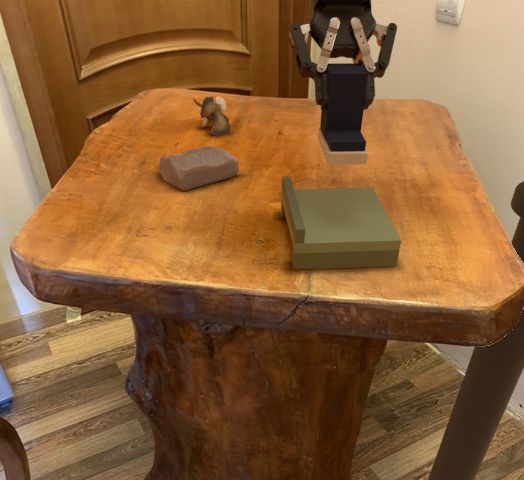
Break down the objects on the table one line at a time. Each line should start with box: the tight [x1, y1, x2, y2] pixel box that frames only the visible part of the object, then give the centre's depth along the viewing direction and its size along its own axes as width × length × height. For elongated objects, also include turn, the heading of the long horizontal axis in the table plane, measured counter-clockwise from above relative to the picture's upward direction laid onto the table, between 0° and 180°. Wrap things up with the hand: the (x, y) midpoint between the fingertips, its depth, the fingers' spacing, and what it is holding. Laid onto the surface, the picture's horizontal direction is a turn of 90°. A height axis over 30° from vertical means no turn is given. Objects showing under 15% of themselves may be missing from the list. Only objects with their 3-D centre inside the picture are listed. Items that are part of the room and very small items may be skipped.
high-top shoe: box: [317, 62, 369, 166], centre depth 70 cm, size 9×5×10 cm, turn 3°
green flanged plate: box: [280, 175, 402, 271], centre depth 78 cm, size 14×16×6 cm
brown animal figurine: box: [192, 95, 231, 137], centre depth 112 cm, size 8×7×9 cm
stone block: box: [158, 146, 240, 192], centre depth 95 cm, size 12×5×10 cm
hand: (345, 106), depth 70 cm, fingers closed on high-top shoe, 4 cm apart
